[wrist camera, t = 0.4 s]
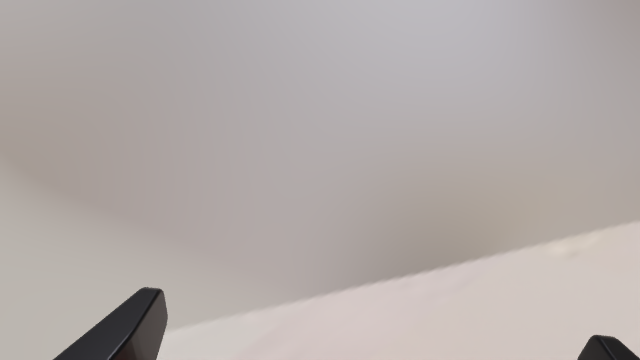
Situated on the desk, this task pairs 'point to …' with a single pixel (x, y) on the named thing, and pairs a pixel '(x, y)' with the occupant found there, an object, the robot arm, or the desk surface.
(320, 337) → the desk surface
